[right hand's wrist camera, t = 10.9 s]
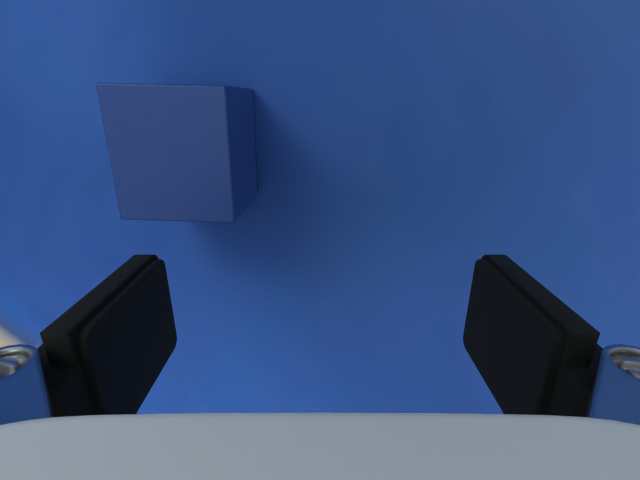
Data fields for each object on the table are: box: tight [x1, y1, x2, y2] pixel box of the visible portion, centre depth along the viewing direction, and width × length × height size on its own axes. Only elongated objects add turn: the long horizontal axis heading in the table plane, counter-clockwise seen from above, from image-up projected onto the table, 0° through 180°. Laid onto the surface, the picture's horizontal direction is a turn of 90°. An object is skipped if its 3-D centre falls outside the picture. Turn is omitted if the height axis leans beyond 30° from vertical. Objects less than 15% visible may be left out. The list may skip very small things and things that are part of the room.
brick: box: [96, 83, 258, 223], centre depth 16 cm, size 5×5×5 cm
